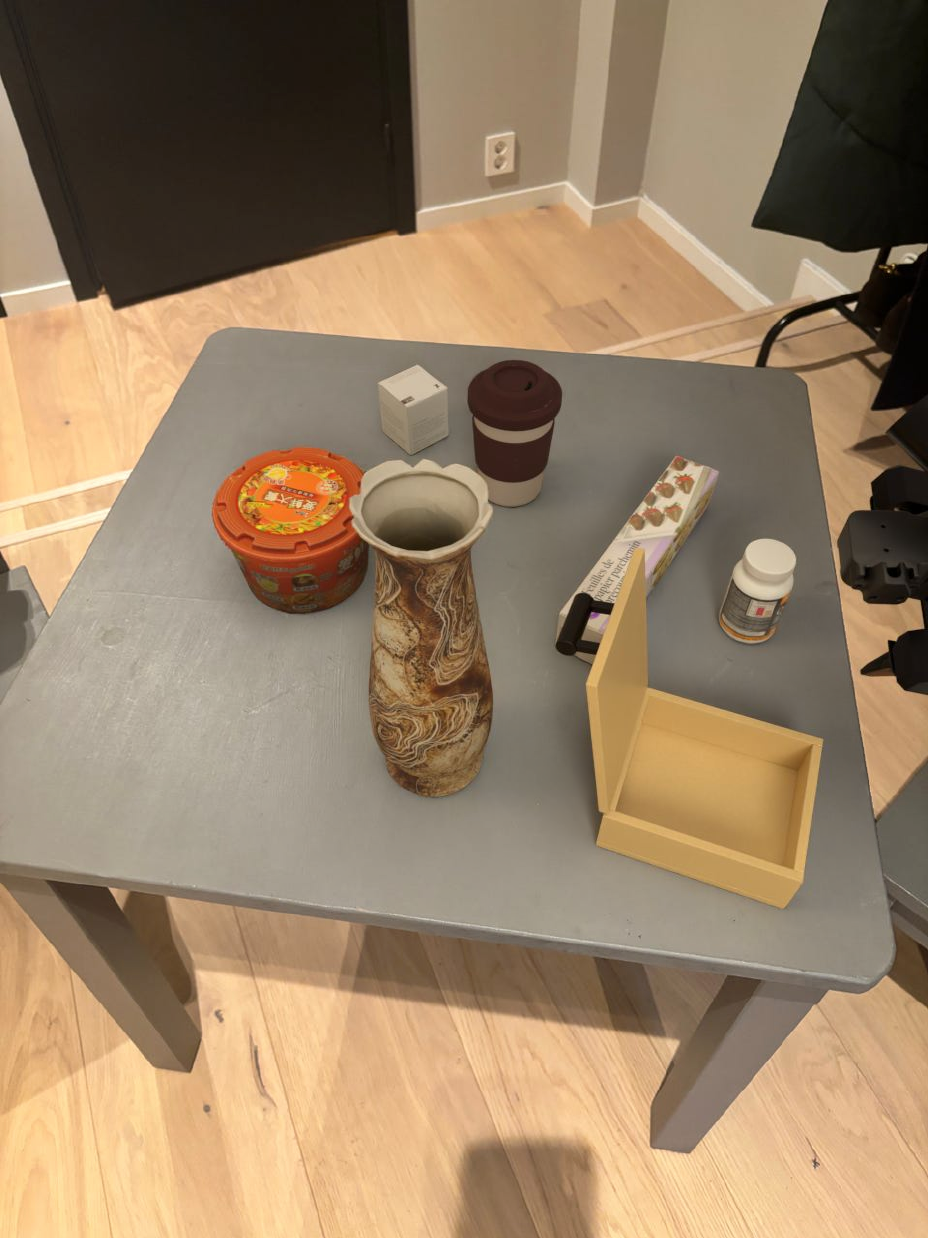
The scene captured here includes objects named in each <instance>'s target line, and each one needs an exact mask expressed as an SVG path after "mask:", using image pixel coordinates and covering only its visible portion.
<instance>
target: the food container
mask: <svg viewBox="0 0 928 1238" xmlns="http://www.w3.org/2000/svg"><path fill="white" fill-rule="evenodd" d="M365 473H366V472H365V471H364V470H363V469H361V467H360V466H359V465H357V464H356V463H355V462H353V461H352V460H350V459H349V458H348V457H346V456H341V455H340V454H336V453H334V452H330V450H328V449H323V448H319V447H309V446H293V447H291V448H290V449H285V450H283V449H280V450H279V449H274V450H270V451H266V452H264V453H260V454H258V455H256V456H254V457H252V458H250V459H248V460H246V461H245V462H244V463H243V464H242V466H240V467H239V468H237V469H236V470H235V471H233V472H231V473H229V475H228V476H227V477H226V478H225V479H224V481H223V482H222V483H221V485H220V486H219V488H218V489H217V491H216V493H215V496H214V499H213V502H212V508H211V517H212V522H213V526H214V529H215V531H216V533H217V534H218V536H219V539H220V541H222V542H223V543H224V545H225V546H226V547H227V549H228V550H230V551H231V553H232V555H233V558H234V559H235V561H236V563H237V566H238V567H239V569H240V571H241V574H242V575H243V577H244V579H245V581H246V583H247V585H248V587H249V590H250V591H251V592H252V594H253V595H254V597H255V598H256V599H257V600H258V601H260V603H262V604H263V605H265V606H267V607H269V608H271V609H274V610H275V611H280V612H282V613H287V614H290V615H291V614H292V615H297V614H298V615H306V614H313V613H319V612H323V611H326V610H328V609H331V608H334V607H336V606H338V605H340V604H342V603H343V602H345V601H346V600H347V599H349V598H350V597H351V596H352V595H353V594H354V593H355V592H356V591H357V590H358V589H359V588H360V587H361V585H362V583H363V582H364V580H365V577H366V575H367V571H368V565H369V546H370V545H369V544H368V543H367V542H366V541H365V540H363V539H362V538H361V537H360V536H359V535H358V534H357V533H356V531H355V530H354V528H353V527H352V525H351V521H352V519H353V518H354V517H353V515H352V513H351V511H350V509H349V498H350V497H352V496H354V495H359V494H360V487H361V479H362V477H363V475H364V474H365Z"/></svg>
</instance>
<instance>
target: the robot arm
mask: <svg viewBox="0 0 928 1238" xmlns="http://www.w3.org/2000/svg"><path fill="white" fill-rule="evenodd" d="M884 434H885V435H886V436H887V437H888V438H890V439H891V440H892V442H894V443H895V444H896V445H897V446H898V447H899V448H900V449H901V450H902V451H903V452H904V453H905V454H906V455H907V456H908V457H909V458H911V460H913V462H915V463H916V464H917V466H919V467H920V468H921V469H919V468H914V467H910V466H907V465H903V464H897V465H893V466H889V467H887V468H885V469H884V470H883V471H882V472H881V473H880V474H878V475H877V476H876V477H875V478H874V479H872V481H871V482H870V488H871V496H870V497H869V500H868V501H869V508H870V509H857V510H854V511H852V512H850V513H849V515H848V516H847V518H846V521H845V523H844V525H843V527H842V529H841V531H840V533H839V535H838V538H837V540H836V547H837V550H838V557H839V566H840V568H839V575H840V579H841V581H842V582H843V584H845V585H846V586H847V587H850V588H851V590H855V591H860V592H861V595H862V601H863V602H864V603H866V604H868V605H889V606H890V605H891V606H893V605H895V606H897V605H902V604H904V603H906V602H907V601H908V599H912V600H916V601H919V603H920V608H921V616H922V622H923V628H919V629H912V630H911V629H910V630H907V631H905V632H903V633H902V634H900V635H899V636H897V638H896V640H893V639H887V650H888V651H886V652H884V653H883V654H880V655H879V656H878V657H876V658H874V659H873V660H871V661H869V662H868V663H866V664H865V665H864V666H863V667H862V668H861V669H860V670H859V673H860V675H861V676H865V677H870V678H876V677H877V678H878V677H895V681H896V683H897V684H898V686H900V688H901V689H902V691H904V692H909V693H914V694H919V695H924V696H928V393H927V394H926V395H925V396H923V397H922V399H920V400H919V401H918V402H916V403H915V404H914V405H913V406H912V407H911V408H910V409H908V410H907V411H906V412H905V413H904V414H903V415H901V416H900V417H899V418H898V419H897V420H896V421H895V422H893V424H892V425H891V426H890V427H888V428H887V429H886V431H885V432H884Z"/></svg>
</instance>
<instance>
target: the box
mask: <svg viewBox="0 0 928 1238" xmlns="http://www.w3.org/2000/svg"><path fill="white" fill-rule="evenodd" d="M719 474H720V471H719V470H716V469H713V468H712V467H710V466H708V465H703V464H700V463H698V462H696V461H692V460H691V459H687V458H686V457H682V456H679V455H675V457H674V458H673V459H672V460H671V462H670V463H669V465H668V466H667V468H666V469H665V470H664V472H663V473H662V474H661V476H660V477H659V478H658V480H657V481H656V482H655V483H654V485H653V486H652V488H651V489H650V491H649V492H648V493H647V495H645V497H644V498H643V500H642V501H641V502H640V504H639V505H638V506H637V508H636V509H635V511H634V512H633V513H632V515H631V516H630V517H629V519H628V520H627V522H625V524H624V525H623V527H622V528H621V530H620V531H619V532H618V534H617V535H616V536H615V538H614V539H613V540H612V542H611V543H610V545H608V547H607V548H606V550H605V551H604V553H603V554H602V555H601V557H600V558H599V559H598V561H597V562H596V563H595V565H594V566H593V567H592V569H591V570H590V572H589V573H588V574H587V575H586V577H584V579H583V581H582V582H581V584H580V585H579V586H578V587H577V589H576V590H575V591H574V593H573V594H572V596H571V597H570V598H569V600H568V601H567V602H566V604H565V605H564V606H563V607H562V609H561V610H560V611H559V613H558V619H557V626H556V627H557V628H556V635H555V642H554V646H555V645H556V642H557V639H558V637H559V634H560V632H561V629H562V627H563V624H564V622H565V619H566V617H567V614H568V612H569V609H570V607H571V604H572V602H573V599H574V597H575V595H576V594H578V593H586V594H589V595H590V596H592V597H593V599H594V600H597V601H604V602H610V603H615V601H616V598H617V596H618V593H619V590H620V587H621V584H622V582H623V579H624V576H625V573H626V570H627V568H628V565H629V562H630V559H631V557H632V554H633V551H634V548H643V549H645V577H646V599H647V598H648V597H649V595H650V594H651V593H652V591H653V590H654V589H655V587H656V585H657V584H658V582H659V581H660V579H661V578H662V576H663V575H664V574H665V572H666V571H667V568H668V567H669V566H670V564H671V562H672V561H673V559H674V558H675V557H676V555H677V554H678V552H679V551H680V549H681V548H682V546H683V545H684V543H685V542H686V541H687V539H688V537H689V536H690V534H691V533H692V532H693V530H694V528H695V527H696V526H697V524H698V522H699V521H700V520H701V518H702V516H703V515H704V513H705V511H706V510H707V509H708V507H709V505H710V502H711V500H712V496H713V493H714V490H715V488H716V484H717V482H718V478H719ZM609 618H610V615H606V614H600V613H593V612H591V615H590V618H589V620H588V623H587V626H586V628H585V631H584V634H583V636H582V639H581V640H586V641H592V642H598V643H601V640H602V637H603V635H604V632H605V629H606V626H607V623H608V621H609ZM573 656H575V657H577V658H578V659H580V660H582V661H584V662H586V663H588V664H591V665H593V662H594V660H595V657H596V655H592V654H587V653H581V652H576V653H575V654H574V655H573Z"/></svg>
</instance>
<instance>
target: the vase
mask: <svg viewBox="0 0 928 1238" xmlns="http://www.w3.org/2000/svg"><path fill="white" fill-rule="evenodd" d="M364 473H365V474H364V475H363V477H362V479H361V487H360V494H359V495H354V496H352V497H350V498H349V509H350V511H351V513H352V515H353V517H354V518H353V519H352V521H351V525H352V527H353V528H354V530H355V531H356V533H357V534H358V535H359V536H360V537H361V538H362V539H363V540H365V541H366V542H367V543H368V544H369V546H371V547H372V549H374V557H375V580H374V581H375V583H374V607H373V619H372V620H373V621H372V633H371V652H370V663H369V678H368V709H369V719H370V724H371V729H372V734H373V737H374V739H375V742H376V744H377V746H378V748H379V750H380V752H381V753H382V755H383V756H384V759H385V766H386V769H387V771H388V774H389V775H390V777H391V778H392V780H393V781H394V782H395V783H396V784H397V785H398V786H400V787H401V788H403V789H404V790H406V791H408V792H411V793H414V794H416V795H419V796H424V797H430V798H431V797H443V796H444V797H445V796H449V795H452V794H454V793H456V792H459V791H461V790H462V789H464V788H465V787H467V786H468V785H469V784H470V783H472V781H473V780H474V779H475V778H476V777H477V775H478V773H479V772H480V769H481V766H482V763H483V758H484V750H485V747H486V746H487V743H488V740H489V737H490V734H491V729H492V724H493V714H494V713H493V712H494V690H493V682H492V675H491V670H490V664H489V658H488V653H487V647H486V643H485V638H484V632H483V625H482V620H481V616H480V610H479V604H478V598H477V592H476V585H475V579H474V573H473V565H472V548H473V546H474V545H475V544H476V543H477V541H478V540H479V539H480V538H481V537H482V535H483V534H484V533H485V531H487V527H488V526H489V524H490V521H491V519H492V518H493V515H494V505H493V504H492V503H491V504H490V503H489V502H490V501H489V500H488V498H489V494H490V492H489V487H488V484H487V483H486V481H485V480H484V479H483V478H482V476H481V475H480V474H478V471H475V470H474V469H473V468H471V467H469V466H466V465H463V464H460V463H451V464H449V465H447V466H445V467H443V466H441V465H440V464H439V463H438V462H436V461H435V460H432V459H426V458H422V459H421V460H420V461H419V462H418V463H416V464H415V465H414V466H412V465H410V464H408V463H407V462H406V461H404V460H402V459H393V460H387V461H384V462H382V463H380V464H378V465H376V466H375V465H374V467H371V468H370V469H368V470H367V471H366V472H364Z"/></svg>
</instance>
